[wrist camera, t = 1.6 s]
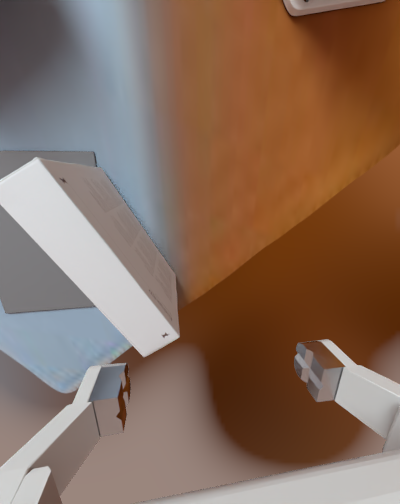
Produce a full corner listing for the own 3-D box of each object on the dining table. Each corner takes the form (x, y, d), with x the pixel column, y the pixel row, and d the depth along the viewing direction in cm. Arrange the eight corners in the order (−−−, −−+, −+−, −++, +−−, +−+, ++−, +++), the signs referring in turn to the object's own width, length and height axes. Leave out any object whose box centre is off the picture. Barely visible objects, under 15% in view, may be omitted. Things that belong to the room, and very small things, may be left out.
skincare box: (69, 185, 31) (-20, 186, 16) (101, 166, 30) (41, 149, 16) (151, 291, 38) (143, 361, 23) (176, 276, 38) (185, 335, 23)
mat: (94, 152, 30) (93, 151, 30) (117, 303, 38) (116, 304, 37) (-49, 150, 28) (-52, 150, 27) (6, 312, 35) (5, 313, 35)
